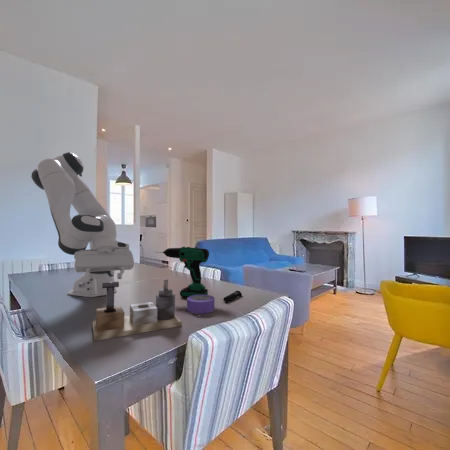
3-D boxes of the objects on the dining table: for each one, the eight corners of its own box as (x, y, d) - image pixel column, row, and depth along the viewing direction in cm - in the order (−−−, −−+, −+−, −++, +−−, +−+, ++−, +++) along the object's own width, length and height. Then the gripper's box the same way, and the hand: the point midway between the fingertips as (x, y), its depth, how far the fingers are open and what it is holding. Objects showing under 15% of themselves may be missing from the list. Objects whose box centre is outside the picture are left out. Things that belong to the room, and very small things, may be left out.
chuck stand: (94, 341, 80) (95, 290, 80) (92, 325, 93) (93, 281, 92) (181, 325, 94) (182, 282, 94) (170, 313, 106) (170, 275, 106)
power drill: (205, 299, 126) (206, 247, 126) (150, 295, 132) (151, 245, 132) (208, 296, 131) (209, 246, 131) (155, 292, 137) (156, 244, 137)
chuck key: (101, 322, 86) (102, 283, 86) (101, 319, 89) (102, 282, 89) (118, 319, 89) (118, 282, 89) (117, 317, 91) (118, 280, 91)
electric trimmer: (220, 303, 123) (221, 296, 123) (235, 295, 137) (236, 289, 137) (228, 304, 121) (228, 297, 121) (242, 296, 135) (242, 290, 135)
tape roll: (187, 305, 118) (188, 294, 118) (213, 305, 119) (214, 294, 119) (185, 314, 106) (186, 301, 106) (214, 314, 107) (215, 301, 107)
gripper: (74, 244, 96) (71, 276, 88) (132, 243, 106) (135, 272, 97) (74, 255, 100) (72, 286, 92) (131, 253, 110) (133, 281, 101)
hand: (105, 279), depth 94 cm, fingers open, 8 cm apart
